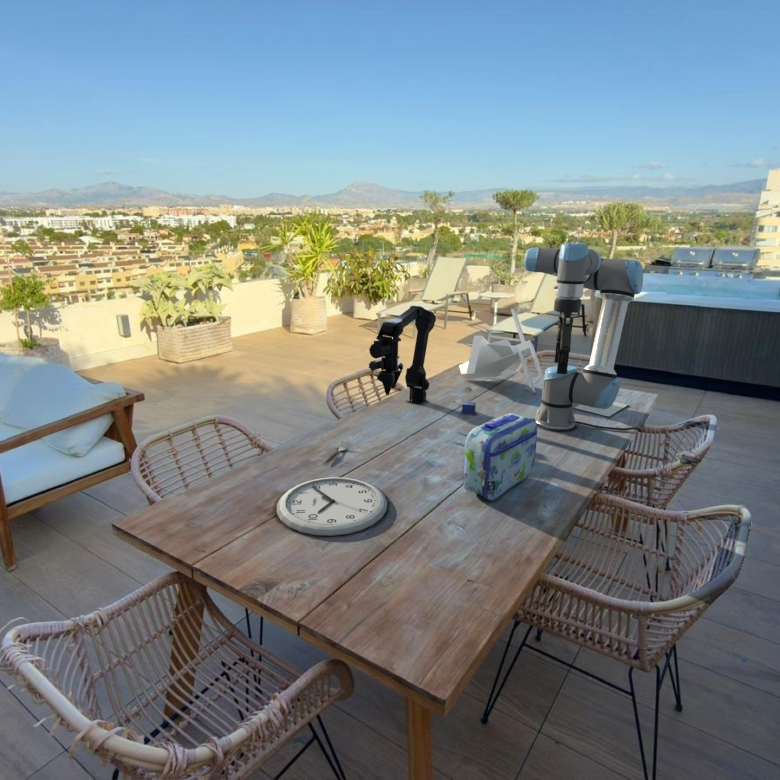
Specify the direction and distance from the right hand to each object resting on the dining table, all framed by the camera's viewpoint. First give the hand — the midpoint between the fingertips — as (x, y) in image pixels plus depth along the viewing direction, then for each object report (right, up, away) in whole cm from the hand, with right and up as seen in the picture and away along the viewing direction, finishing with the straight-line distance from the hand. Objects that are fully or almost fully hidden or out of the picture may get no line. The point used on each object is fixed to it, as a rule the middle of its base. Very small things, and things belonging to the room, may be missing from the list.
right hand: (560, 368), depth 159 cm
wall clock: (-68, -38, -17) cm, 80 cm away
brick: (-19, -16, +57) cm, 62 cm away
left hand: (-52, -7, +51) cm, 73 cm away
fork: (-70, -28, +15) cm, 77 cm away
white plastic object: (0, -5, +93) cm, 93 cm away
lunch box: (-20, -35, -4) cm, 41 cm away
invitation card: (+40, -14, +67) cm, 79 cm away
